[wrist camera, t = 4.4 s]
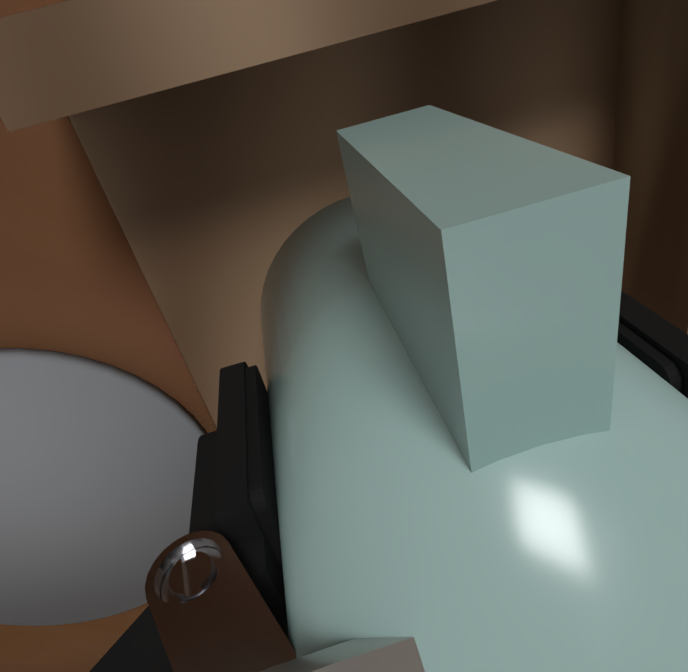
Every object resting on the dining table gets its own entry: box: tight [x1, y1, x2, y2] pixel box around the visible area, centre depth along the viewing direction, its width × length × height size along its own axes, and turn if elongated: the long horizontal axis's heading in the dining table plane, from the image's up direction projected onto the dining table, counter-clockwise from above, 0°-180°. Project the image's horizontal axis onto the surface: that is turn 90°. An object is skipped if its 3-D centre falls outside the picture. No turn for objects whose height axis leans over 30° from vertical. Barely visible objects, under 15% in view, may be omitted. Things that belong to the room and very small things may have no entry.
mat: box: [0, 348, 207, 626], centre depth 17 cm, size 12×12×1 cm
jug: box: [261, 105, 688, 672], centre depth 9 cm, size 6×9×11 cm
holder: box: [0, 0, 688, 427], centre depth 14 cm, size 15×17×4 cm
